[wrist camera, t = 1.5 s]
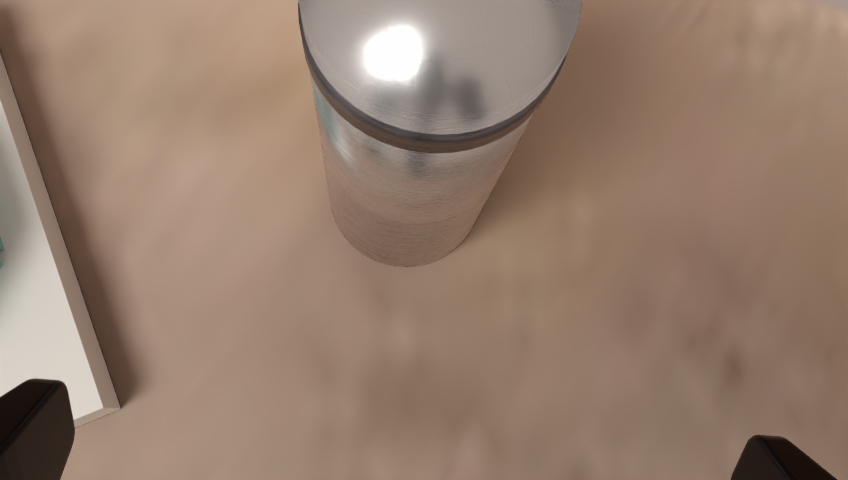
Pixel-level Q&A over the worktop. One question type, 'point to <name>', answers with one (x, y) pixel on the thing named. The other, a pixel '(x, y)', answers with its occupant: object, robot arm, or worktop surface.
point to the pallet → (41, 283)
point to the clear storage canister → (425, 110)
